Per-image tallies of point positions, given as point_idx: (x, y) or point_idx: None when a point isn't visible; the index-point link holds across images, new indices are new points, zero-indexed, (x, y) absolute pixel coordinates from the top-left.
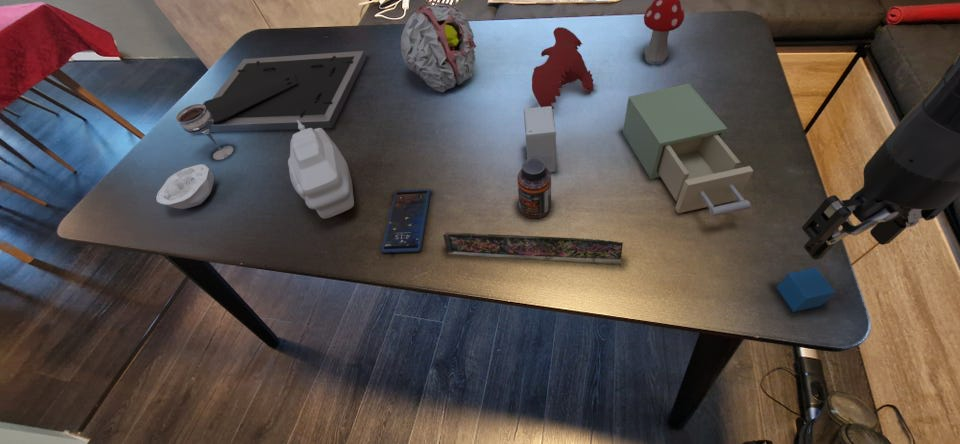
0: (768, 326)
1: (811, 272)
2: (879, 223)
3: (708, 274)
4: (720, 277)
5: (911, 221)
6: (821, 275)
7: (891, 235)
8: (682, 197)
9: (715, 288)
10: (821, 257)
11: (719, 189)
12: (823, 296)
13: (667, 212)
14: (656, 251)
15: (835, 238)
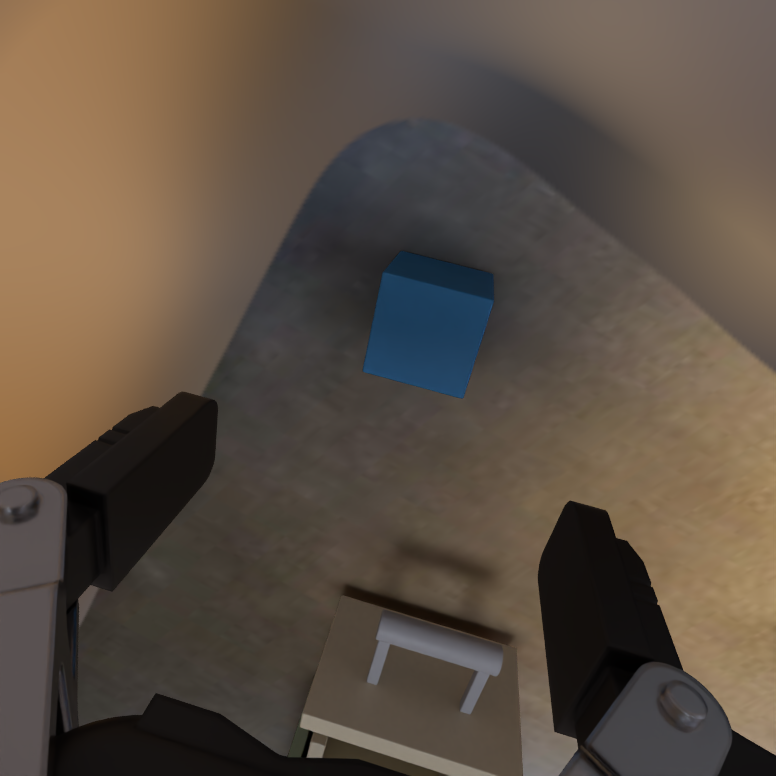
0: (606, 271)
1: (392, 365)
2: (165, 524)
3: (601, 482)
4: (580, 459)
5: (28, 614)
6: (371, 341)
7: (164, 446)
8: (519, 717)
9: (626, 441)
10: (587, 514)
11: (406, 684)
12: (423, 277)
13: (526, 652)
14: (662, 598)
15: (708, 764)
